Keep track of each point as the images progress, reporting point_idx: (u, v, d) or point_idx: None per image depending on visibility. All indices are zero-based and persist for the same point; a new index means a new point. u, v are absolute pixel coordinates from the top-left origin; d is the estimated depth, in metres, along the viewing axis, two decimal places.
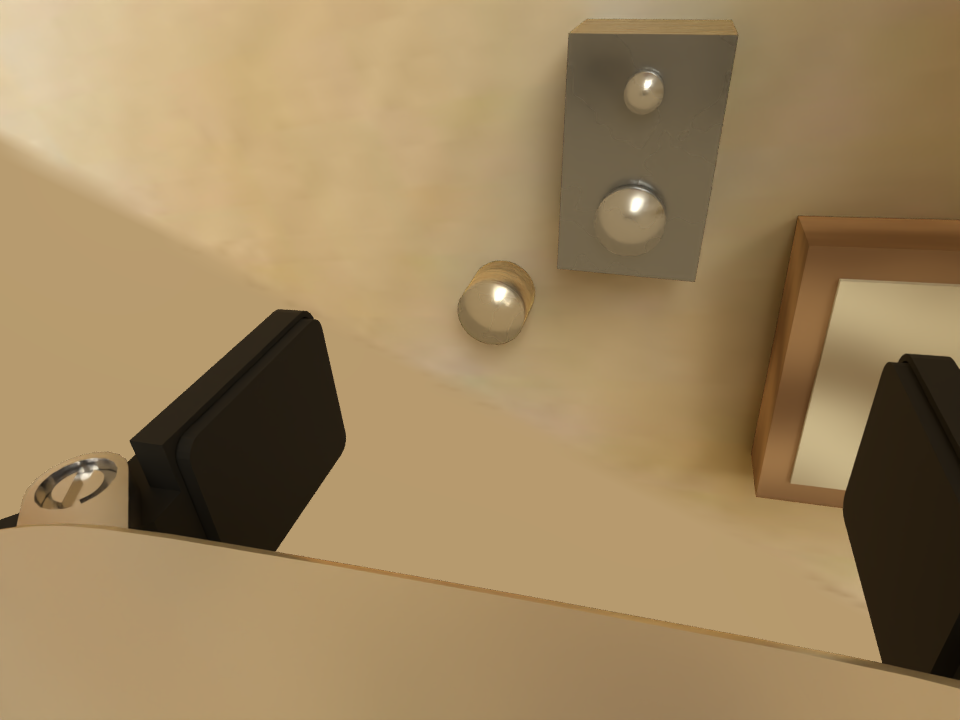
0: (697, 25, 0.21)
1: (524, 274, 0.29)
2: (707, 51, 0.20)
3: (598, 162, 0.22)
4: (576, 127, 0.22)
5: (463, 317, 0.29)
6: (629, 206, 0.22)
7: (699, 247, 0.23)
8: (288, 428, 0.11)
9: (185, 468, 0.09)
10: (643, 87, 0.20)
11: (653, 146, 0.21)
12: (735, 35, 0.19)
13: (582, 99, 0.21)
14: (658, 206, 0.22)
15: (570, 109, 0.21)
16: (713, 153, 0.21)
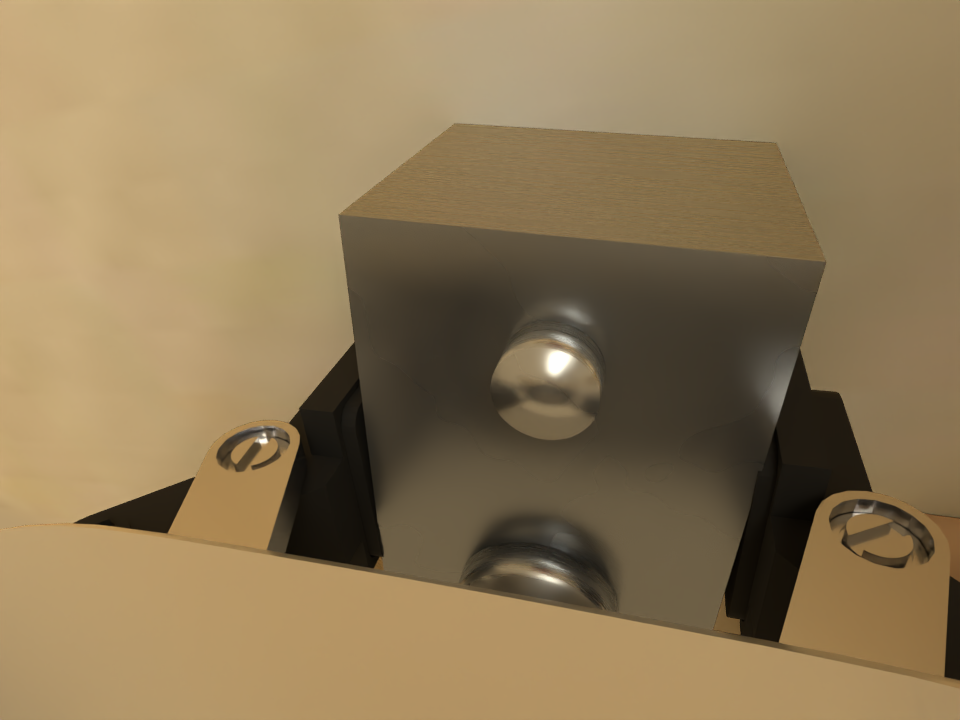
0: (697, 177, 0.08)
1: None
2: (727, 296, 0.07)
3: (452, 492, 0.09)
4: (392, 420, 0.09)
5: None
6: None
7: None
8: None
9: (348, 436, 0.09)
10: (542, 381, 0.07)
11: (582, 482, 0.08)
12: (817, 262, 0.06)
13: (397, 366, 0.08)
14: None
15: (372, 383, 0.08)
16: (735, 518, 0.08)
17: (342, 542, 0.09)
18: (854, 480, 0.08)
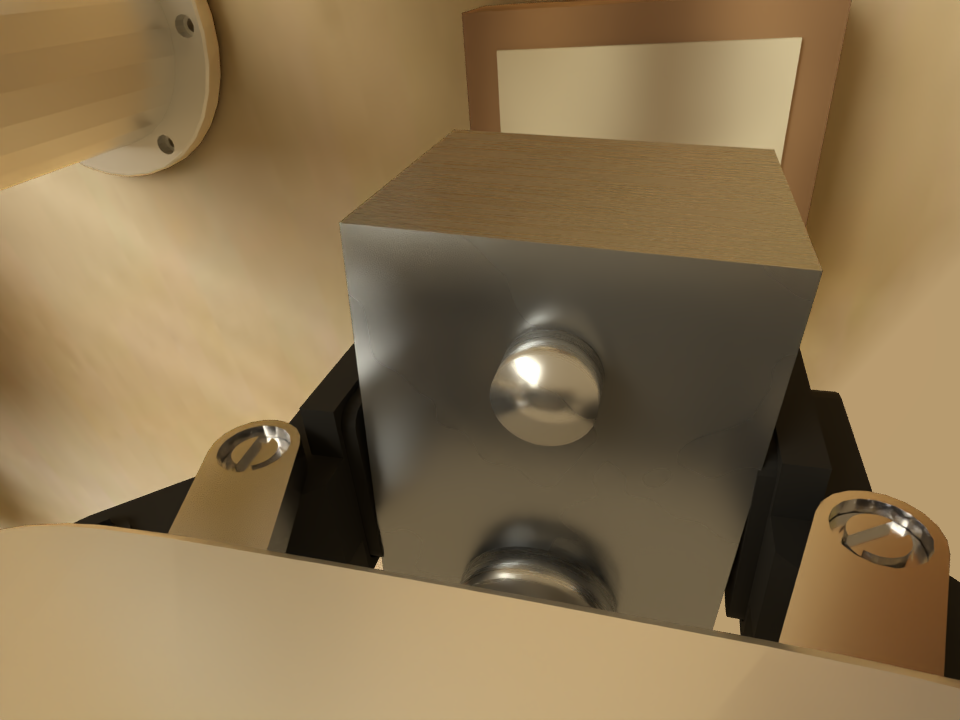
0: (695, 184, 0.08)
1: None
2: (724, 303, 0.07)
3: (452, 497, 0.09)
4: (392, 426, 0.09)
5: None
6: None
7: None
8: None
9: (349, 436, 0.09)
10: (541, 388, 0.07)
11: (582, 487, 0.08)
12: (813, 270, 0.06)
13: (398, 372, 0.08)
14: None
15: (372, 389, 0.08)
16: (733, 523, 0.08)
17: (343, 542, 0.09)
18: (854, 480, 0.08)
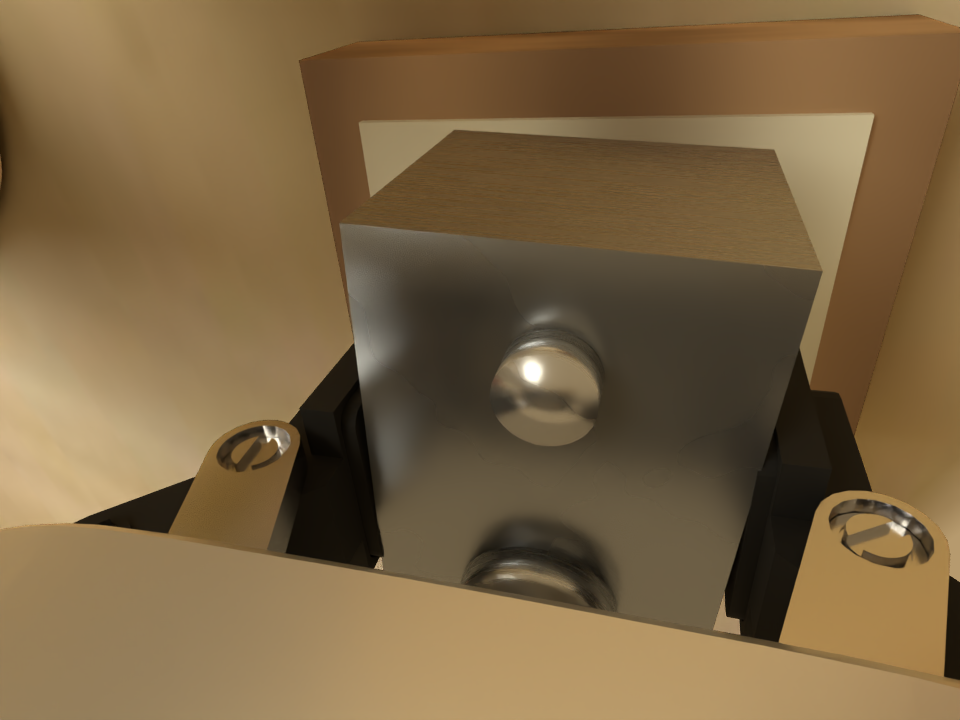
0: (695, 184, 0.08)
1: None
2: (725, 303, 0.07)
3: (452, 497, 0.09)
4: (392, 426, 0.09)
5: None
6: None
7: None
8: None
9: (348, 435, 0.09)
10: (541, 388, 0.07)
11: (582, 487, 0.08)
12: (813, 271, 0.06)
13: (397, 372, 0.08)
14: None
15: (373, 390, 0.08)
16: (733, 523, 0.08)
17: (342, 542, 0.09)
18: (854, 480, 0.08)
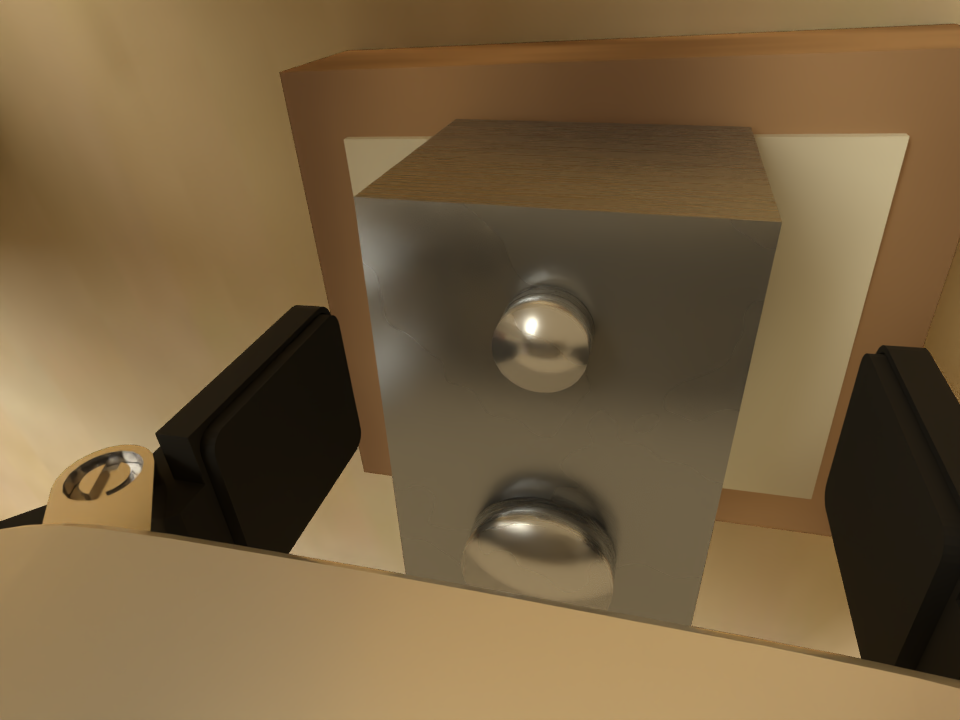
0: (675, 157, 0.09)
1: None
2: (697, 256, 0.07)
3: (461, 452, 0.10)
4: (404, 385, 0.10)
5: None
6: (531, 553, 0.10)
7: (689, 617, 0.11)
8: (307, 423, 0.11)
9: (210, 461, 0.09)
10: (537, 338, 0.08)
11: (578, 436, 0.09)
12: (774, 222, 0.07)
13: (408, 334, 0.09)
14: (594, 561, 0.10)
15: (386, 351, 0.09)
16: (717, 464, 0.09)
17: None
18: None
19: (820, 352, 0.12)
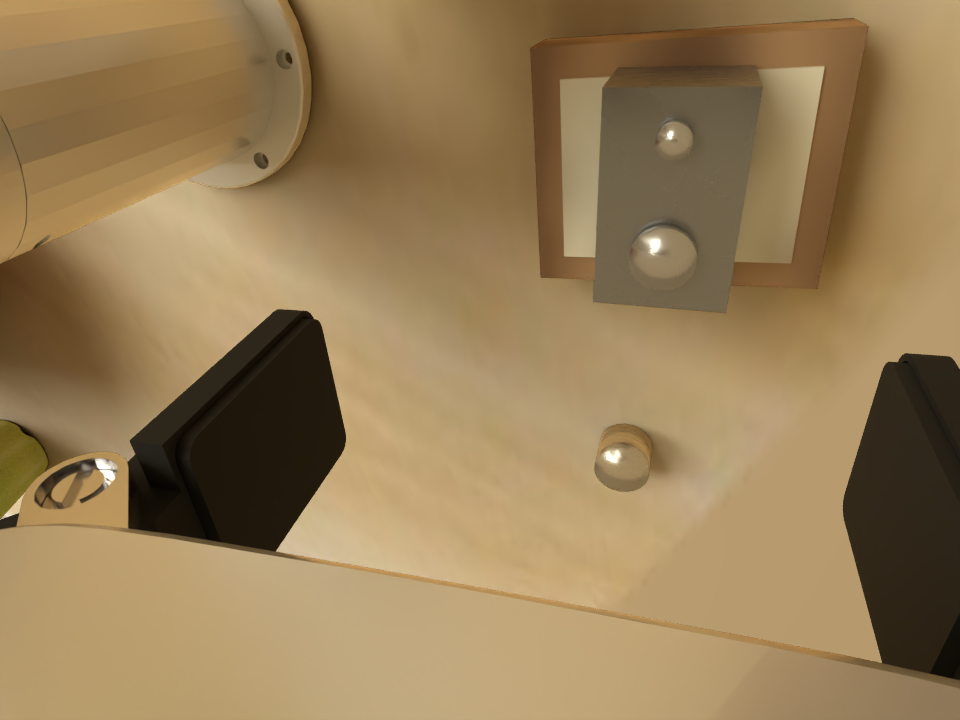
0: (723, 74, 0.23)
1: (608, 430, 0.38)
2: (733, 102, 0.21)
3: (631, 203, 0.23)
4: (610, 172, 0.23)
5: (624, 488, 0.37)
6: (662, 244, 0.23)
7: (729, 281, 0.24)
8: (288, 428, 0.11)
9: (185, 468, 0.09)
10: (673, 136, 0.21)
11: (684, 188, 0.23)
12: (760, 87, 0.20)
13: (615, 146, 0.23)
14: (689, 244, 0.23)
15: (604, 156, 0.23)
16: (741, 194, 0.22)
17: None
18: None
19: (791, 176, 0.26)
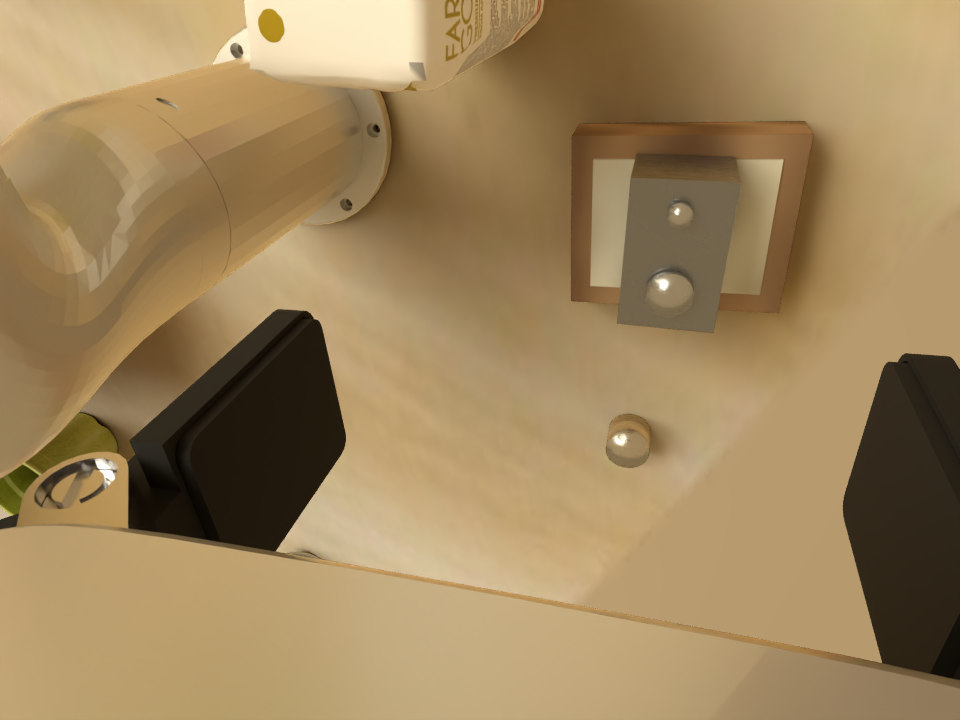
0: (713, 166, 0.32)
1: (616, 419, 0.48)
2: (721, 191, 0.30)
3: (647, 255, 0.33)
4: (633, 233, 0.33)
5: (628, 465, 0.47)
6: (669, 285, 0.33)
7: (716, 310, 0.34)
8: (288, 428, 0.11)
9: (185, 468, 0.09)
10: (680, 213, 0.31)
11: (685, 246, 0.32)
12: (739, 182, 0.30)
13: (638, 217, 0.32)
14: (689, 285, 0.33)
15: (630, 222, 0.32)
16: (725, 252, 0.32)
17: None
18: None
19: (760, 233, 0.35)
